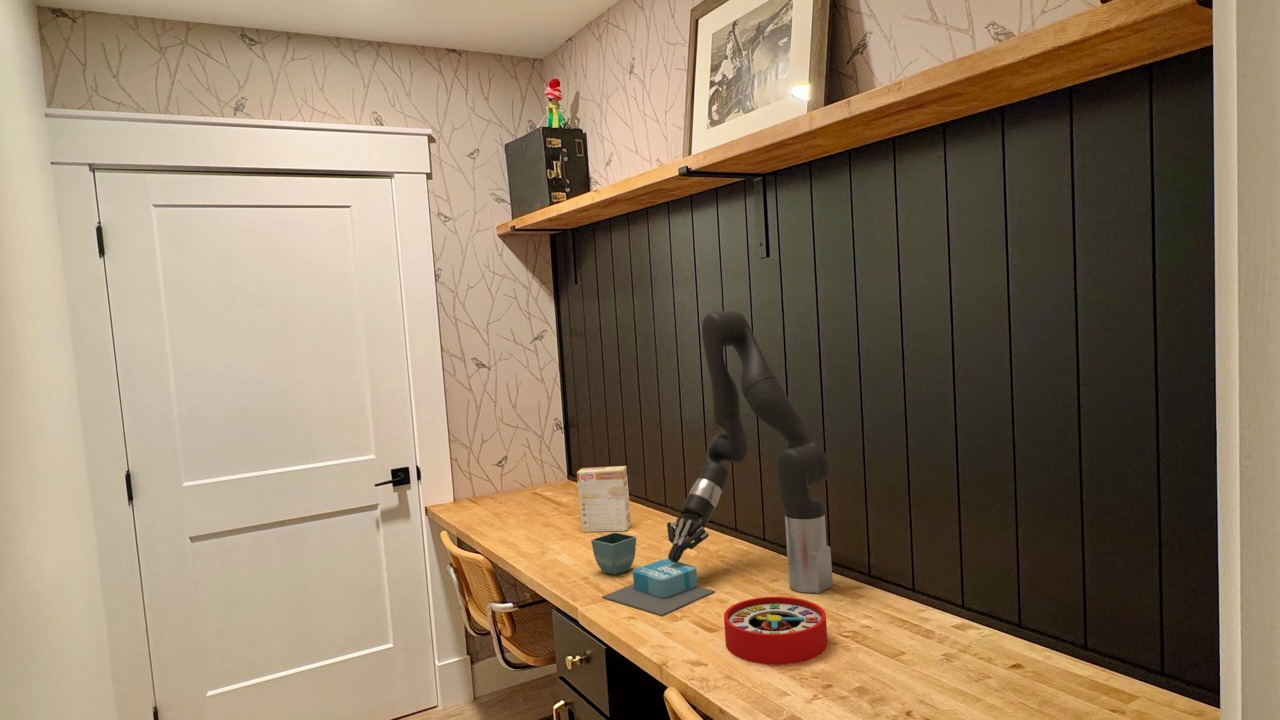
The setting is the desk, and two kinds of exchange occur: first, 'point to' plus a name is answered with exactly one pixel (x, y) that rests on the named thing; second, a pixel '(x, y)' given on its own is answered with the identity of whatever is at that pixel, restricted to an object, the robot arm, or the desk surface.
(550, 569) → the desk surface
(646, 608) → the mat
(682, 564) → the data package
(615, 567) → the flower pot
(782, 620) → the toy clock
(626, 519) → the coffeecake box
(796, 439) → the robot arm
